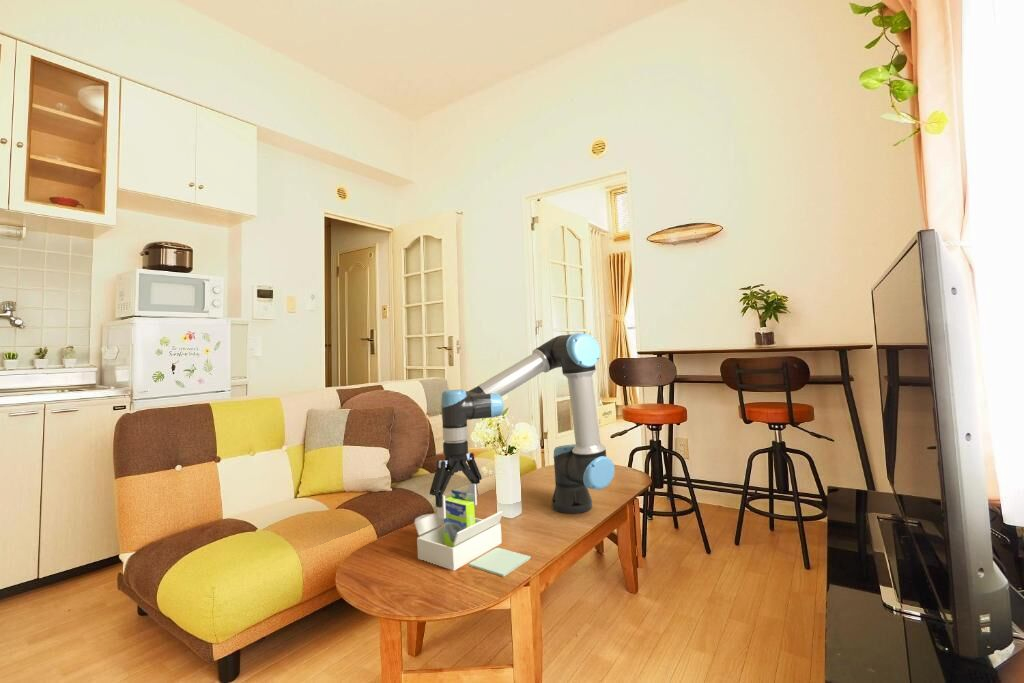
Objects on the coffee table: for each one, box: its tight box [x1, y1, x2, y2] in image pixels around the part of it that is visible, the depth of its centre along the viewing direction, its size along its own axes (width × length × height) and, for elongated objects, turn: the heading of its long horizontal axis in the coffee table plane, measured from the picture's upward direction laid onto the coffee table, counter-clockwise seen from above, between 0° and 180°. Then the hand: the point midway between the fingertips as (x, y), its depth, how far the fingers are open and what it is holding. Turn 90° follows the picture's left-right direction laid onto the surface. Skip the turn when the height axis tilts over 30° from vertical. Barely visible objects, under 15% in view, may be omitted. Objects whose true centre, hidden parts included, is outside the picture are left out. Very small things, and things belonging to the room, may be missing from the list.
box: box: [443, 489, 476, 547], centre depth 140 cm, size 11×4×17 cm, turn 50°
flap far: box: [413, 512, 444, 536], centre depth 145 cm, size 20×1×4 cm, turn 143°
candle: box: [414, 513, 443, 537], centre depth 152 cm, size 9×9×6 cm
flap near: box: [453, 510, 504, 546], centre depth 136 cm, size 20×1×4 cm, turn 143°
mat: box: [468, 546, 532, 578], centre depth 131 cm, size 12×12×1 cm
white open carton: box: [416, 517, 503, 572], centre depth 140 cm, size 21×15×6 cm
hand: (457, 510), depth 140 cm, fingers open, 13 cm apart
